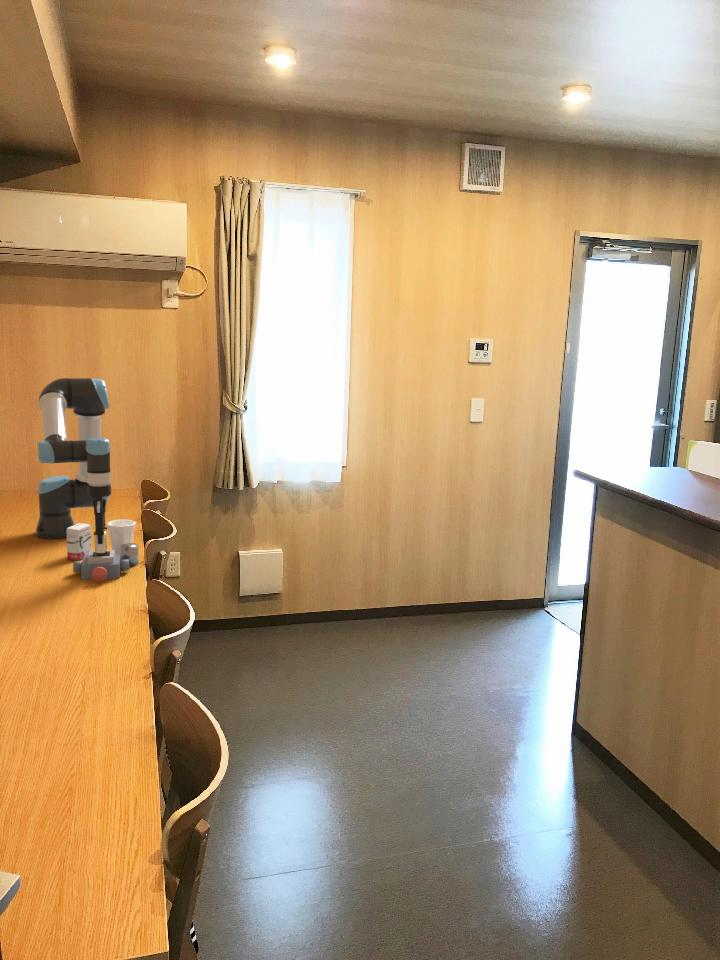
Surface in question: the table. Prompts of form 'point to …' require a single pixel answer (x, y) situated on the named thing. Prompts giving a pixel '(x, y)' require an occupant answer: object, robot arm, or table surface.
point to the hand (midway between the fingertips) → (101, 550)
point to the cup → (120, 533)
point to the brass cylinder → (105, 546)
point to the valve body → (101, 566)
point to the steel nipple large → (130, 553)
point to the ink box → (78, 541)
